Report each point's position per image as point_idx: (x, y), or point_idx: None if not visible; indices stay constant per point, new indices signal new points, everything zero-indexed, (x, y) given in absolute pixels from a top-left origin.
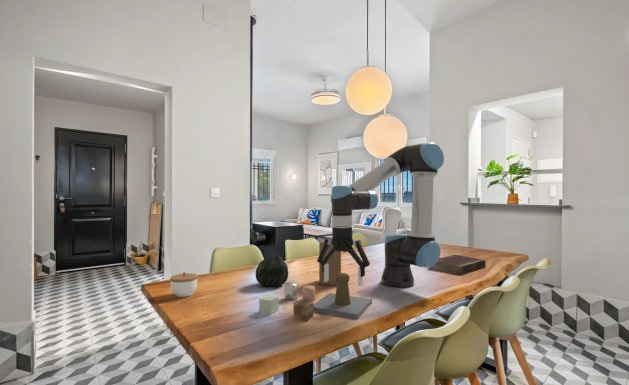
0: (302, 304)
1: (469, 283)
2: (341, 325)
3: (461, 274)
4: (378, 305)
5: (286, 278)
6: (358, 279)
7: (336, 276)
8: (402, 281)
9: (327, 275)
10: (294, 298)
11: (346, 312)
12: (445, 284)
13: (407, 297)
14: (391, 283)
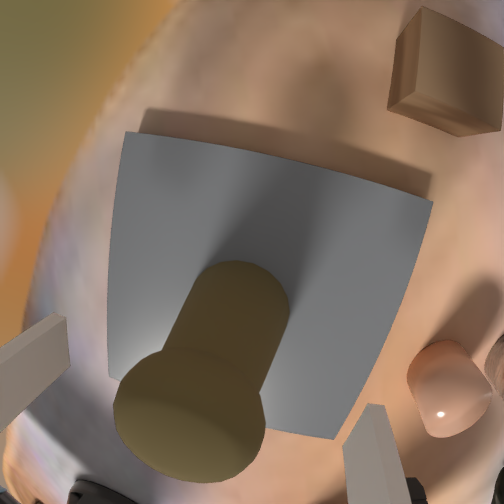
0: (463, 45)
1: (5, 461)
2: (207, 30)
3: (38, 502)
4: (88, 339)
5: (499, 485)
6: (31, 342)
7: (244, 418)
8: (82, 493)
9: (359, 467)
10: (501, 345)
11: (186, 141)
12: (29, 470)
13: (45, 411)
14: (115, 500)
